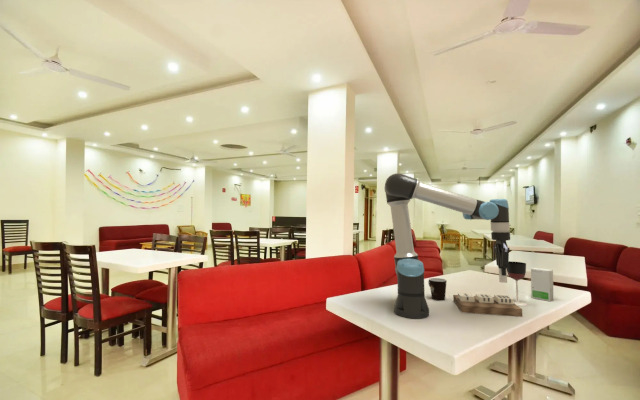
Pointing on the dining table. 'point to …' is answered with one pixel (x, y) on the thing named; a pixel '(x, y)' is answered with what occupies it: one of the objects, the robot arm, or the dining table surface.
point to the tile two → (484, 298)
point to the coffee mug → (437, 288)
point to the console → (487, 308)
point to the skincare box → (542, 284)
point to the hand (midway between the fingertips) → (503, 282)
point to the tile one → (466, 297)
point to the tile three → (503, 299)
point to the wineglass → (517, 276)
